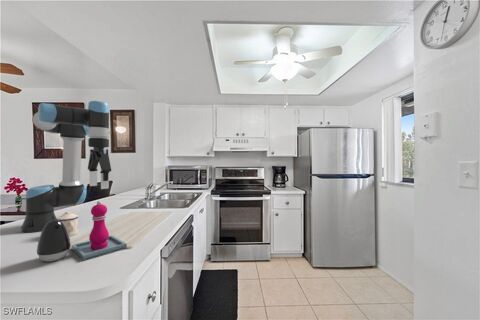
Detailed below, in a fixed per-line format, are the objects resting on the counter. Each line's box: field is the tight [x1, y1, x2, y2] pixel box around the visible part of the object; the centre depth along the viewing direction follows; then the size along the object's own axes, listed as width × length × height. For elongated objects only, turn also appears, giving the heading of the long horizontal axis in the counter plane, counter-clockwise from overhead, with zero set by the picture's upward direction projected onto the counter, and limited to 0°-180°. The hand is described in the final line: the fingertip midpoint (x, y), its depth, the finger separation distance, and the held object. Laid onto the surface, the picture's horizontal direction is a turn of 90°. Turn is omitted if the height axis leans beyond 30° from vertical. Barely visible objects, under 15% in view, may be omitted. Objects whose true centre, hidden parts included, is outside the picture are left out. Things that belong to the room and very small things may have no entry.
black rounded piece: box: [36, 220, 72, 262], centre depth 88 cm, size 10×10×15 cm
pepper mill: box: [88, 200, 110, 250], centre depth 97 cm, size 7×7×20 cm
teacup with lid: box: [56, 211, 79, 237], centre depth 114 cm, size 12×9×12 cm
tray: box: [71, 234, 128, 262], centre depth 97 cm, size 16×16×2 cm
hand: (98, 187), depth 97 cm, fingers open, 13 cm apart
